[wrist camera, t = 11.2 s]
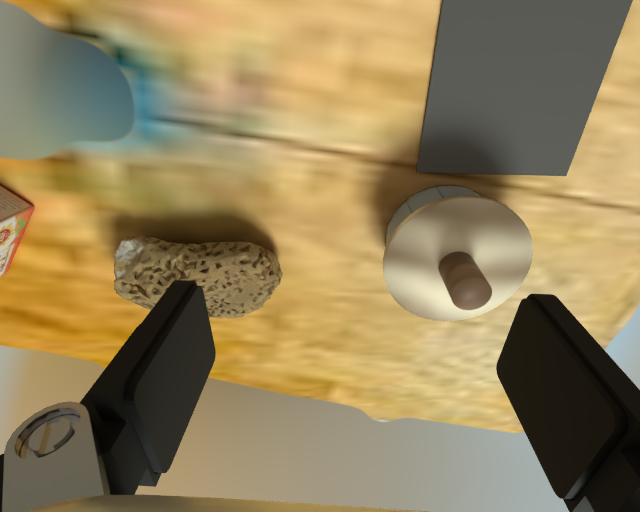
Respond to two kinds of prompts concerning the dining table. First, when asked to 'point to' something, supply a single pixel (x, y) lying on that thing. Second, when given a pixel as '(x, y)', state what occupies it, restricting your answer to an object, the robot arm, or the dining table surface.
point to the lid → (457, 258)
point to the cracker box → (11, 225)
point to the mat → (515, 83)
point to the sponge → (197, 273)
